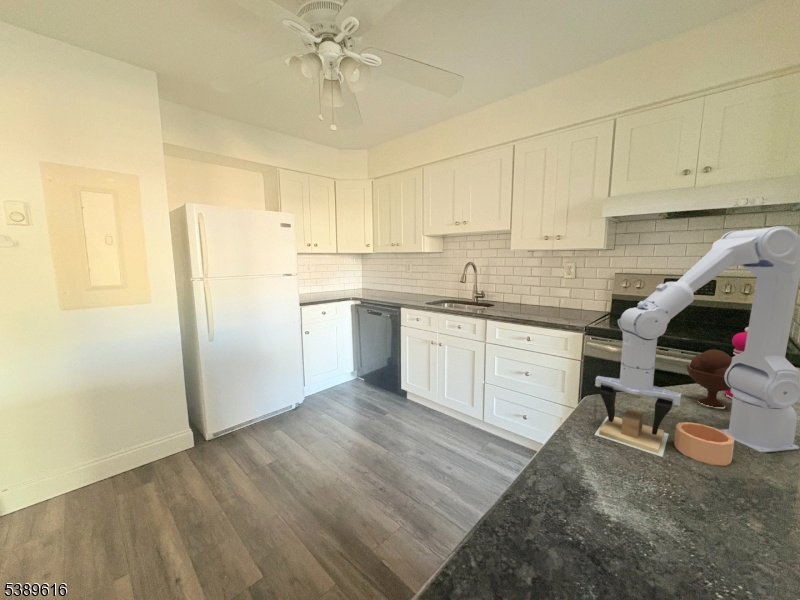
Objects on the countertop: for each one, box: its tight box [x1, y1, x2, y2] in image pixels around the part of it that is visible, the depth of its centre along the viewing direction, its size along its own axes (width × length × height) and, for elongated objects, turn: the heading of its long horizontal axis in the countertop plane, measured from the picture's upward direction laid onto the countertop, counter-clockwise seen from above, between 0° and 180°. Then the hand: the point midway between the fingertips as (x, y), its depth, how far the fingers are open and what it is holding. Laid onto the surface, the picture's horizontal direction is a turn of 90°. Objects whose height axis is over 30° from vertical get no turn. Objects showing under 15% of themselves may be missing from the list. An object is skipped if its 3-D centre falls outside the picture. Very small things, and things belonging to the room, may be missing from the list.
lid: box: [599, 408, 665, 453], centre depth 69 cm, size 10×10×4 cm
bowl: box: [673, 421, 735, 467], centre depth 63 cm, size 8×8×4 cm
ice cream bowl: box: [686, 349, 732, 407], centre depth 83 cm, size 11×11×15 cm
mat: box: [594, 415, 670, 458], centre depth 70 cm, size 12×12×1 cm
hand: (632, 426), depth 69 cm, fingers open, 7 cm apart
